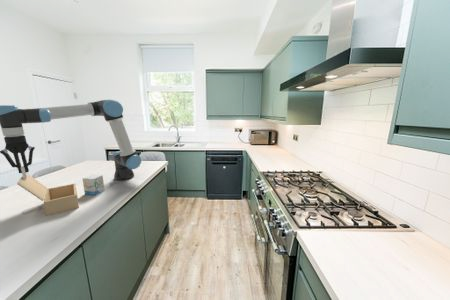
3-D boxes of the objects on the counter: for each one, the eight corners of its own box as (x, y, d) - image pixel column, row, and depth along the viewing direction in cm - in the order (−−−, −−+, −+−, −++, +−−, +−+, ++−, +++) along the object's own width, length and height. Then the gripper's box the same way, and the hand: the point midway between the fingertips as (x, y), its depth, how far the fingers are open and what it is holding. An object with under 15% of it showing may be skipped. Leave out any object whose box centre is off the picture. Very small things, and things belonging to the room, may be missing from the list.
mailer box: (77, 194, 130) (75, 183, 128) (78, 207, 113) (76, 194, 111) (49, 200, 121) (46, 188, 120) (46, 215, 104) (43, 202, 102)
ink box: (94, 195, 129) (92, 179, 126) (84, 194, 130) (81, 178, 128) (105, 190, 137) (102, 174, 134) (95, 189, 138) (92, 174, 136)
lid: (25, 172, 112) (24, 173, 112) (18, 183, 95) (16, 184, 95) (46, 187, 119) (45, 188, 119) (43, 200, 103) (42, 201, 102)
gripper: (32, 133, 106) (42, 173, 111) (-3, 136, 98) (10, 179, 103) (30, 135, 100) (41, 177, 106) (-7, 137, 92) (6, 183, 98)
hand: (25, 178), depth 105 cm, fingers closed
